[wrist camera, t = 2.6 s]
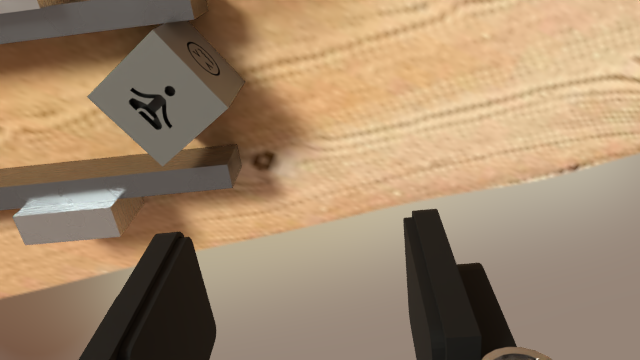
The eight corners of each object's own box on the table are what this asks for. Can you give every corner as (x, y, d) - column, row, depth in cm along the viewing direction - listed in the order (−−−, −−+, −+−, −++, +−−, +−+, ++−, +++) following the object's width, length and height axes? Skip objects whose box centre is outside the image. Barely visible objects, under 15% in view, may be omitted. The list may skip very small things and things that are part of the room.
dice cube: (125, 71, 30) (86, 96, 25) (182, 14, 28) (152, 29, 24) (187, 132, 31) (162, 166, 27) (245, 81, 30) (228, 108, 25)
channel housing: (193, -59, 26) (170, -58, 23) (247, 193, 33) (236, 226, 29) (-156, -10, 28) (-229, -1, 24) (-39, 221, 35) (-83, 254, 31)
